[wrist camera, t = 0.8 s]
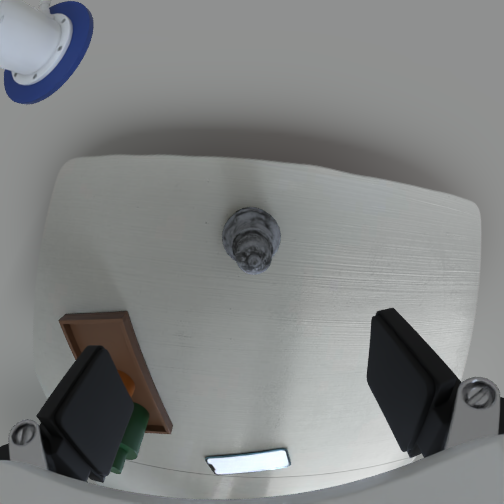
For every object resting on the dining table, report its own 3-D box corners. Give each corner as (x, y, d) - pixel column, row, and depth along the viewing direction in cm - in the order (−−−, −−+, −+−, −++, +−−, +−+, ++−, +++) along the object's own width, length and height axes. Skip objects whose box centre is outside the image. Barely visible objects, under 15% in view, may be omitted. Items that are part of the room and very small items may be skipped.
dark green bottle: (116, 400, 39) (90, 457, 26) (143, 402, 39) (121, 463, 26) (127, 420, 40) (106, 475, 28) (153, 422, 40) (136, 481, 28)
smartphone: (286, 446, 43) (203, 456, 44) (286, 448, 43) (203, 458, 43) (291, 464, 46) (215, 473, 46) (291, 466, 45) (215, 475, 45)
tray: (65, 313, 35) (58, 320, 33) (127, 310, 35) (121, 318, 33) (117, 421, 41) (114, 429, 39) (173, 425, 41) (171, 434, 39)
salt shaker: (237, 195, 31) (233, 210, 20) (285, 217, 32) (309, 245, 20) (216, 242, 32) (201, 283, 21) (263, 263, 33) (272, 312, 22)
